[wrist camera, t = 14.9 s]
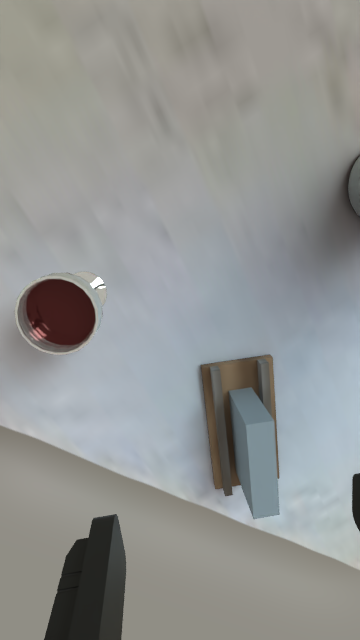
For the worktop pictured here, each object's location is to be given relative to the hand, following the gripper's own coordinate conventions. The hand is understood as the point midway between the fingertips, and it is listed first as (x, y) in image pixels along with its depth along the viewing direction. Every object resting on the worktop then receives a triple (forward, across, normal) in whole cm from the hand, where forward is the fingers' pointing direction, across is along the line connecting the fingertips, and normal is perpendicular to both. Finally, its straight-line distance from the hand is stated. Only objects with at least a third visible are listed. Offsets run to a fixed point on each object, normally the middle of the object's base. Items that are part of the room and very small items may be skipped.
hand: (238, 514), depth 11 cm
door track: (+30, -7, +16) cm, 35 cm away
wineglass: (+30, +10, -4) cm, 32 cm away
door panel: (+29, -7, +17) cm, 34 cm away
